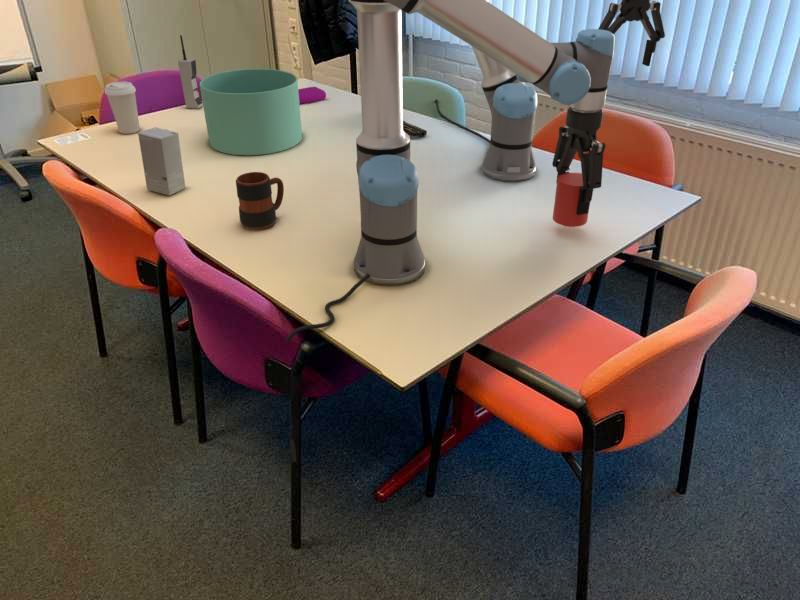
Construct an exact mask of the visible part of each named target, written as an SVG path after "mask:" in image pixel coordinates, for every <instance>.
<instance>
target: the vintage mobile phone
mask: <svg viewBox="0 0 800 600" xmlns="http://www.w3.org/2000/svg"><path fill="white" fill-rule="evenodd" d="M179 39H180V44H181V51H182V57H183V58H181V59H180V60H178V61H177V65H178V70H179V75H180V81H181V86H182V93H183V97H184V103H185V108H187V109H194V110H195V109H197V110H198V109H201V108H202V107H203V102H202V98H201V97H200V91H199V87H198V80H197V73H198V72H197V71H198V70H197V59H195V58H187V55H186V51H185V47H184V40H183V36H182V35H181V34H180V35H179Z"/></svg>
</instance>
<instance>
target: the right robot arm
mask: <svg viewBox="0 0 800 600" xmlns="http://www.w3.org/2000/svg"><path fill="white" fill-rule="evenodd" d="M486 1H487V2H489V3H490V4H491V2H490V0H486ZM661 6H662V5H661V2H660V1H656V0H653V1H651V0H621V2H620V3H615V2H610V4H609V6H608V9H607V13H606V15H604V18H603V20H602V21H601V23H600V25H599V26H598V28H597V29H601V30H607V31H610V32H611V33H613V35H614V36H615V34H616V33H617V32H618V30H620V28H621V27H622V26H623V25H624V24H626V23H627V22H633V21H634V22H640V23H641V25H642V27H643V28H644V30H645V32H646V34H647V36H648V38H649V39H646V42H645V46H644V53H643V57H642V61H641V62H642V63H641V64H642V65H644V66H646V67H650V66H651V61H652V56H653V54H654V53H655V52H656V47H657V43H658V42H660V40H661V39H664V38H665V37H666V34H665V29H664V24H663V20H662V15H661ZM649 11H650V14H651V18H652V22H651V20H650V17H649V15H648V12H649ZM619 12H620V13H619ZM618 13H619V14H618ZM617 14H618V15H617ZM616 15H617V16H616ZM614 19H615V20H614ZM652 23H653V24H652ZM471 48H472V50H473V53H474V56H475V58H476V61H477V63H478V66H479V68H480V71H481V73H482V76H483V77H482V81H481V83H480V87H481V88H482V91H483V94H484V96H485V99H486V101H487V104H488V106H489V110H490V114H491V127H490V139H489V138H488V137H486V136H484V135H483V134H480V133H479V132H477V131H475V130H473V129H471V128H468V127H467V126H465V125H463V124H460V123H458V122H456V121H453V120H452V119H450V118H448V117H447V116H446V115H445V114H443V112H442V111H441V109H440V104H439V99H438V98H436V99H435V101H434V103H435V106H436V110H437V113H438V114H439V115H440V117H442V119H444V120H445V121H447V122H449V123H450V124H452V125H454V126H456V127H458V128H459V129H461V130H462V129H463V130H465V131H466V132H468V133H471V134H473V135H475V136H477V137H479V138H480V139H482V140H484V141H485V142H487V143H488V144H489V146H488V149H487V151H486V153H485V156H484V158H483V160H482V162H481V173H482V174H483V175H484V176H485V177H487V178H490V179H492V180H495V181H500V182H510V183H511V182H513V183H514V182H524V181H527V180H530V179H532V178H533V177H535V175H536V170H537V166H536V159H535V156H534V152H533V138H534V130H535V123H536V122H535V121H536V113H537V108H538V94H537V92H536V90H535V89H534V88H533V87H532V86H528V85H527V84H526V82H520V81H519V80H518V79H517V77H516V73H514V72H513V71H511V70H510V69H508V68H506V67H505V66H503V65H501V64H500V63H498V62H497V61H495V60H493V59H492V58H490V57H489V56H487V55H485V54H484V53H482V52H481V51H479V50H477V49H476V48H474V47H473V46H471Z"/></svg>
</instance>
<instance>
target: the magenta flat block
mask: <svg viewBox="0 0 800 600" xmlns="http://www.w3.org/2000/svg"><path fill="white" fill-rule="evenodd" d="M298 92H299V104H300V105H302V104H308V103H313V102H318V101H323V100H325V99H326V98H327V92H326V91H325V90H324V89H321V88H319V87H317V86H309V87H303V88H298Z"/></svg>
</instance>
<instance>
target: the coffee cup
mask: <svg viewBox="0 0 800 600" xmlns="http://www.w3.org/2000/svg"><path fill="white" fill-rule="evenodd" d="M136 91H137V89H136V87H135V85H133V83H132V82H128V81H114V82H110V83H108V84H105V89H104V94H105V95H106V97H107V100H108V102H109V106H110V108H111V111H112V115H113V117H114V120H115V124H116V126H117V129H118V131H119V133H120V134H123V135H129V134H130V135H131V134H135V133H139V132H140V130H141V127H140V126H141V125H140V119H139V112H138V105H137V98H136Z"/></svg>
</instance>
